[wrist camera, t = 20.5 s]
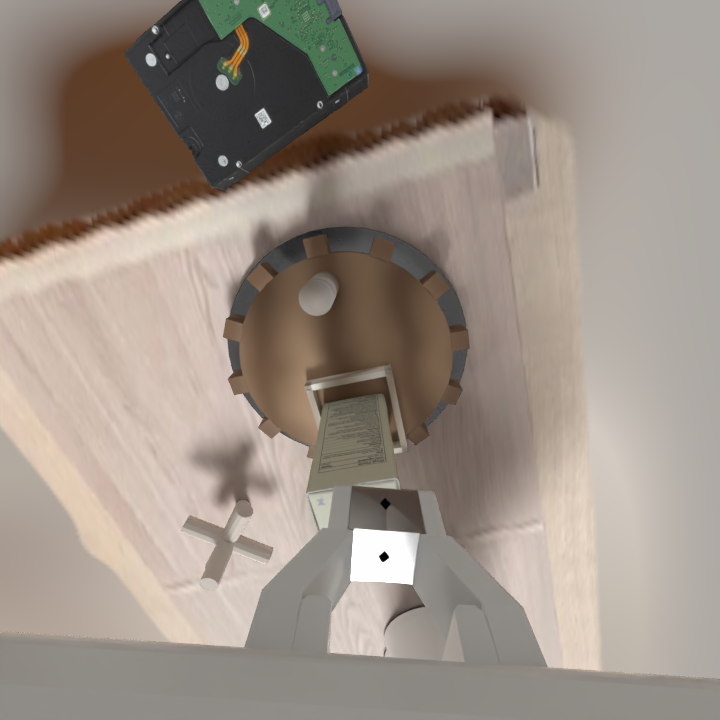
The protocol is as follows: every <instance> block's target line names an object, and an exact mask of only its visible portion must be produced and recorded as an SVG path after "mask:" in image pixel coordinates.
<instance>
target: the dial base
mask: <svg viewBox="0 0 720 720" xmlns="http://www.w3.org/2000/svg"><path fill="white" fill-rule="evenodd" d="M323 234H327V238H328V242H329V246H330V250H331V252H336V251H353V252H362V253H367V254H369V253H370V249H371V246H372V243H373V240H374V237H375V236H376V237H379V238H382V239H385V240H388V241H391V242H393V243H396V245H395V248H394V251H393V254H392V257H391V260H390V261H391V262H393V263H395V264H397V265H398V266H400V267H402V268H404V269H405V270H406V271H408V272H409V273H410V274H412V275H413V276H414V277H415V278H417V279H418V280H419V281H420V280H421V279H422V278H423V277H424V276H425V275H427V274H428V273H429V272H430V271H431V270H432V269H433V270H435V271H436V272H438V274H439V275H440V276H441V277H442V279H443V280H444V281H445V282H446V284H447V285H448V286H449V287H450V288H449V289H448V290H447V291H446V292H445V293H444V294H442V295H441V296H440V297H439V298H438V299H436V301H437V303H438V304H439V306H440V308H441V310H442V312H443V314H444V316H445V318H446V321H447V324H448V326H453V325H458V324H462V325H463V326H464V327H465V328H466V323H465V319H464V314H463V310H462V308H461V305H460V303H459V300H458V297H457V295H456V293H455V291H454V290H453V288H452V286H451V284H450V283H449V281H448V280H447V278H446V277H445V276H444V275H443V273H442V272H441V271H440V269H439V268H438V267H437V266H436V265H435V264H434V263H433V262H432V261H431V260H430V259H429V258H428V257H427V256H425V255H424V254H423V253H421V252H420V251H418V250H417V249H416V248H414V247H413V246H411V245H409V244H408V243H406V242H404V241H402V240H400V239H398V238H396V237H393V236H390V235H388V234H385V233H382V232H379V231H374V230H369V229H365V228H354V227H336V228H326V229H321V230H316V231H312V232H308V233H306V234H303V235H300V236H298V237H295V238H293V239H291V240H289V241H287V242H285V243H284V244H282V245H280V246H278V247H277V248H276V249H274V250H273V251H272V252H270V253H269V254H268V255H266V256H265V257H264V258H263V259H262V260H261V261H260V262H259V263H258V264H257V265H256V266H255V267H254V268H253V269H252V271H251V272H250V274H251V273H252V272H253V271H254V270H255V269H256V268H257V267H258V265H259V264H261V263H264V262H268V263H269V264H270V265H271V266H272V267H273V269H274V270H275V271H276V272H277V273H278V274H279V273H281V272H282V271H284V270H285V269H287V268H288V267H290V266H292V265H294V264H296V263H298V262H300V261H302V260H304V259H306V258H307V254H306V250H305V247H304V243H303V239H307V238H311V237H315V236H319V235H323ZM250 274H249V275H250ZM249 275H248V276H249ZM248 276H247V277H248ZM259 293H260V292H259V291H258V290H257V289H256V288H255V287H254V286H253V285H252V284H251V283H250V282H249V281H248V280H247V279H245V280H244V282H243V284H242V286H241V288H240V290H239V292H238V293H237V295H236V298H235V301H234V304H233V307H232V310H231V314H230V316H231V315H233V314H238V315H242V316H245V317H246V315H247V313H248V310H249V308H250V306H251V304H252V303H253V301H254V300H255V298H256V296H257V295H258V294H259ZM239 345H240V342H238V341H234V340H231V339H228V349H229V357H230V361H231V366H232V370H233V372H235V370H239V369H241V364H240V351H239ZM466 356H467V349H464V350H459V351H454V352H453V361H452V370H451V374H450V378H451V379H455V380H457V381H458V383H459V382H460V379H461V377H462V374H463V371H464V366H465V361H466ZM243 394H244V396H245V397H246V399H247V400H248V402H249V403H250V405H251V406H252V407H253V408H254V409H255V411H256V412H257V413H258V414H259V415H260V416H261V417H262V418H264V417H265V415H264V414H263V412H262V411H261V410H260V409H259V407H258V406H257V404H256V403H255V401H254V400H253V398H252V397H251V395H250V392H247V393H243ZM447 404H448V403H446V402H443V401H440V402H439V404H438V406H437V407H436V408H435V410H434V411H433V412H432V414H431V415H430V416H429V417H428V418H427V419H426V420H425V421H424V423H425V424H426V426H428V425H429V424H430V423H431V422H432V421H433V420H434V419H436V418H437V416H438V415H439V414H440V413H441V412H442V411H443V409H444V408H445V407H446V406H447ZM280 433H282V434H283V435H285V436H287V437H289V438H291V439H293V440H294V441H297V442H299V443H301V444H304V445H306V446H309V447H310V445H308V444H305V443H303V442H301V441H299V440H297V439H295V438H293V437H291V436H290V435H288V434H286V433H285V432H283V431H282V430H281V431H280ZM405 438H406V440H407V439H408V437H407V436H405ZM397 441H400V439H399V440H397Z"/></svg>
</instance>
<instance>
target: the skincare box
mask: <svg viewBox="0 0 720 720" xmlns="http://www.w3.org/2000/svg"><path fill="white" fill-rule="evenodd" d="M335 484H338V485H349V486H351V488H352V485H353V486H364V487H376V488H389V489H400V483H399V477H398V472H397V466H396V460H395V454H394V448H393V442H392V436H391V430H390V424H389V418H388V412H387V406H386V401H385V396H384V394H382V393H380V394H373V395H367V396H361V397H355V398H350V399H345V400H340V401H335V402H330V403H325V404H324V405H323V409H322V414H321V420H320V424H319V430H318V435H317V440H316V445H315V450H314V456H313V461H312V466H311V471H310V477H309V482H308V487H307V492H306V495H307V498H308V502H309V505H310V508H311V512H312V515H313V518H314V521H315V524H316V527H317V530H318V532H319V531H320V530H321V529H322V528H328V523H329V516H330V509H331V502H332V495H333V488H334V485H335Z"/></svg>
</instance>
